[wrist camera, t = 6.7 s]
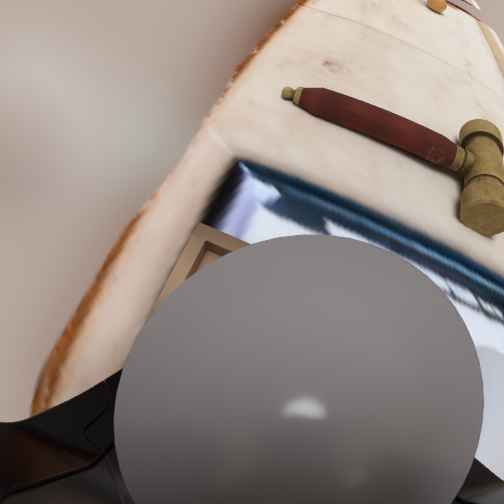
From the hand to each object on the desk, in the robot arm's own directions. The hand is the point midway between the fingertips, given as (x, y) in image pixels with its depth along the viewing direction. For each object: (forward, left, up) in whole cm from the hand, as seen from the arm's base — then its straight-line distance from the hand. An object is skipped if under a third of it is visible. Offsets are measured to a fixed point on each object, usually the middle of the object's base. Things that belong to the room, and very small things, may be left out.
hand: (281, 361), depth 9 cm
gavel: (+20, -4, -9) cm, 23 cm away
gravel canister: (-1, 0, -7) cm, 7 cm away
